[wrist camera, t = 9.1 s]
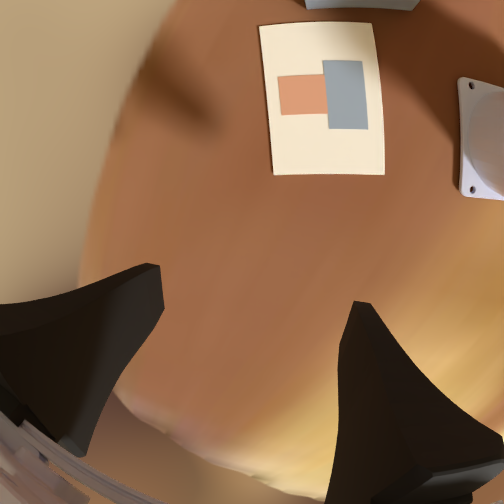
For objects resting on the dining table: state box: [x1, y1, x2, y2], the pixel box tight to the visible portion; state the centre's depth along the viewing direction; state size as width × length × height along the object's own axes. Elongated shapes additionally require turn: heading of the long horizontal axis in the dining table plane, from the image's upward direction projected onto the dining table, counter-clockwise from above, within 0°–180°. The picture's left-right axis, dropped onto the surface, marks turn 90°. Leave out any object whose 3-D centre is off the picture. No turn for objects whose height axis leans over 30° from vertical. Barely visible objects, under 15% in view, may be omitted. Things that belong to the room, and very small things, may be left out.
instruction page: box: [259, 22, 385, 175], centre depth 15 cm, size 7×10×1 cm
